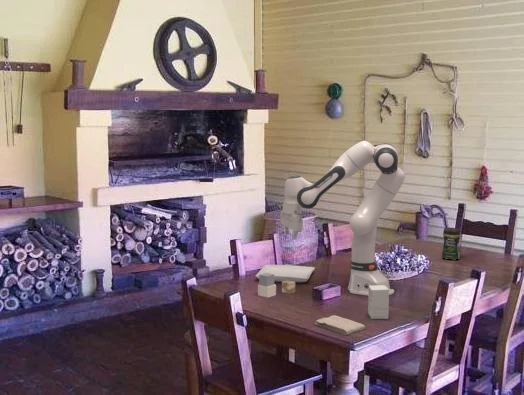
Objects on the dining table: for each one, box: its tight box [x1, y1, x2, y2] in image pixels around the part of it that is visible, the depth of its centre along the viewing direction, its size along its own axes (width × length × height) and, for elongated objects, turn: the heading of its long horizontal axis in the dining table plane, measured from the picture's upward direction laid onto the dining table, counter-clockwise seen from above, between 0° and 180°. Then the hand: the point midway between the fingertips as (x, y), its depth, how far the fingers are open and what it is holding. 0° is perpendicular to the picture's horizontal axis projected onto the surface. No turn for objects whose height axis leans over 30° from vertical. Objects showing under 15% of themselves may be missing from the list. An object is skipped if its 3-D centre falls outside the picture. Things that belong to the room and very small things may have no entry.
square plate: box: [255, 264, 316, 284], centre depth 354 cm, size 27×27×4 cm
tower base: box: [257, 283, 277, 298], centre depth 319 cm, size 6×6×5 cm
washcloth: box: [314, 315, 366, 336], centre depth 272 cm, size 12×18×3 cm, turn 42°
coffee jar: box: [441, 226, 461, 260], centre depth 395 cm, size 10×8×19 cm
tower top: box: [258, 273, 275, 287], centre depth 318 cm, size 5×5×5 cm
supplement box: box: [367, 285, 390, 320], centre depth 285 cm, size 7×7×13 cm
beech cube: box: [281, 280, 296, 295], centre depth 324 cm, size 4×4×5 cm
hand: (290, 236), depth 332 cm, fingers open, 8 cm apart
